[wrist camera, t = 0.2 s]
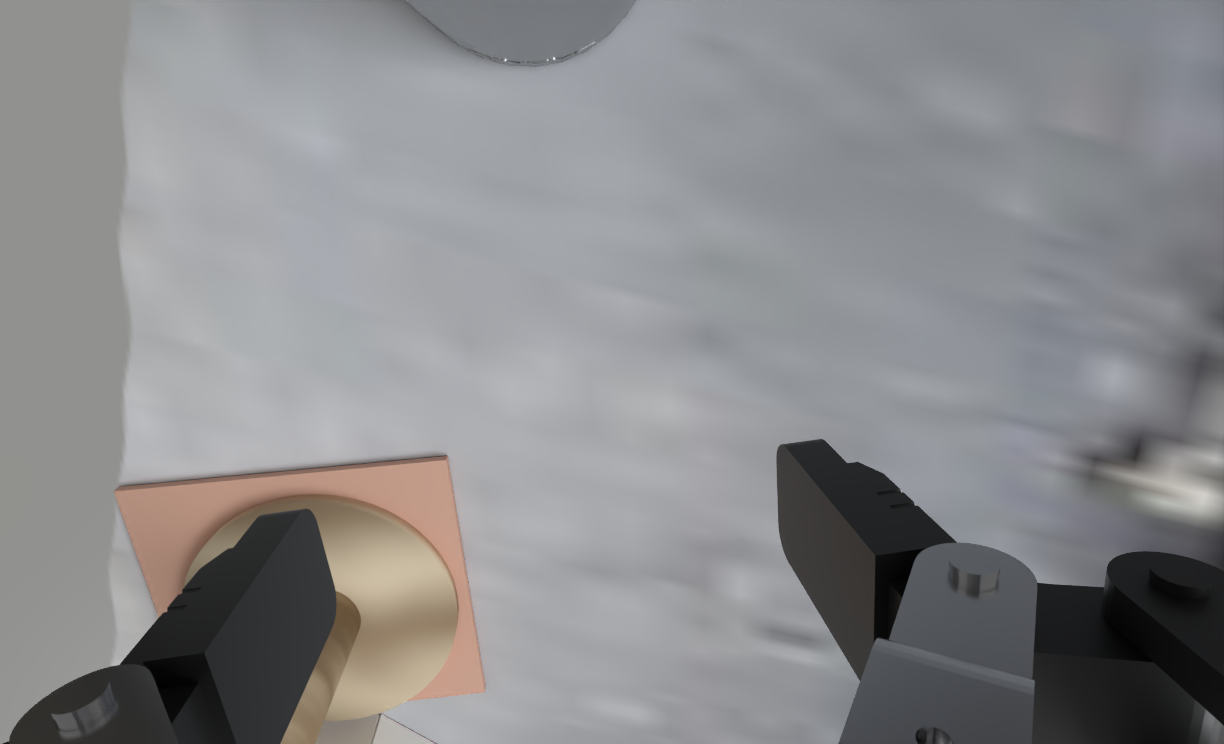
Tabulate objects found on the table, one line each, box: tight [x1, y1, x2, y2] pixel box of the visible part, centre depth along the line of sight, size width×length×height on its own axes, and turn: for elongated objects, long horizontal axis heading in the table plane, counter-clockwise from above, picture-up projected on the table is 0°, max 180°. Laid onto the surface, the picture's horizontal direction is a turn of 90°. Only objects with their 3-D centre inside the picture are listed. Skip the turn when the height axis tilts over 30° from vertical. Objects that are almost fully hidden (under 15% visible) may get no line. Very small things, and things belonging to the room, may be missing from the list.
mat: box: [114, 456, 485, 701], centre depth 32 cm, size 13×14×1 cm
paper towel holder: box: [183, 494, 459, 744], centre depth 27 cm, size 12×12×10 cm
